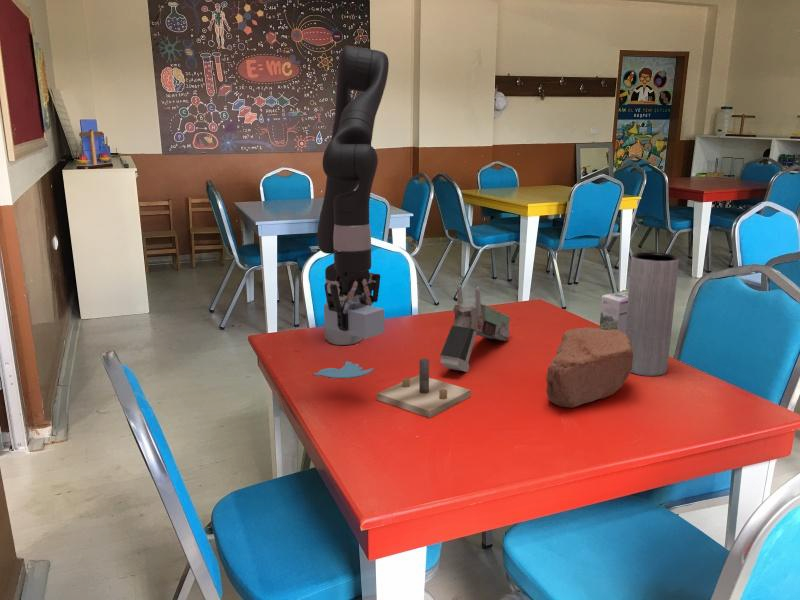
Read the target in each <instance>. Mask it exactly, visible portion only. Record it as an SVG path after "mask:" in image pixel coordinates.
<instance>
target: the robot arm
mask: <svg viewBox="0 0 800 600" xmlns="http://www.w3.org/2000/svg"><path fill="white" fill-rule="evenodd" d="M388 75H389V57H388V54H386V53H385V52H383V51H380V50H377V49H371V48H366V47H361V46H356V45H344V47H342V49H341V51H340V54H339V58H338V66H337V77H336V78H337V79H336V95H335V108H334V118H333V125H332V126H333V127H332V132H331V139H330V141H329V143H328V144H327V146H326V148H325V150H324V153H323V156H322V162H321V163H322V169H323V172H324V174H325V175H326V183H325V191H324V196H323V201H322V205H321V211H320V214H319V218H318V219H319V221H318V226H317V233H316V235H317V237H316V239H317V245H318V248H319V250H320V251H321V252H322V253H323V254H327V255H329V254H330V255H332V254H333V263H330V264H329V265H328V266H327V267H326V268H325V269H324V270H325V271H324V276H325V277H324V278H325V283H324V292H325V302H326V303H325V304H328V308H329V310H330V311H334V312H337V324H338V328H339V329H340V330H342V331H348V313H347V312H348V308H349V304H350V303H351V302H356V303H361V304H365V305H369V306H373V304H374V303H377V302H378V300H379V292H380V284H381V274H380V273H373V272H370V269H372V233H371V227H370V226H371V225H370V201H371V200H370V198H371V193H372V187H373V184H374V183H373V182H374V179H375V176H376V172H377V168H378V165H379V164H378V162H379V160H378V159H379V158H378V153H377V151H376V150H375V148H374V147H373V146H372V145H371V144H372V141H373V134H374V125H375V119H376V116H377V114H378V110H379V107H380V105H381V102H382V99H383V95H384V91H385V88H386V85H387V80H388ZM351 91H356V92H362V93H361V94H360V95H357V96H356V97H354V98H353V99H352V96H351ZM343 302H344V304H343ZM342 304H343V307H342ZM323 324H324V326H323V327H324V340H327V342H328V343H330V344H333V345H336V346H337V345H339V346H347V345H350V346H351V345H354V344H358V343H360V342H361V341H362V339H363V338H360V337H357V336H353V335H350V334H346V333H343V332H339V331H336V330H332V329H329V328H325V313H324V312H323Z"/></svg>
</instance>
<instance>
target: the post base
mask: <svg viewBox="0 0 800 600" xmlns="http://www.w3.org/2000/svg"><path fill="white" fill-rule="evenodd" d="M418 370H419V372H418V373H419V374H418V375H416V376H413V377H411V378H408V377H404V378H403V377H402V380H401V382H400V383H397V384H395V385H392V386H390V387H388V388H386V389H384V390H381V391H379V392H377V394H376V400H377V401H380V402H382V403H386V404H388V405H391V406H394V407H397V408H398V409H399V408H400V409H403V410H405V411H409V412H411V413H413V414H417V415H420V416H423V417H425V418H428V419H431V418H432V417H436V416H437V415H438V414H441V413H442V412H445V411H447V410H448V409H450V408H451V407H453V406H456V405H457V404H460V403H461V402H463V401H465V400H467V399H469V398H470V397H471V394H472V393H471V391H472V390H471V389H469V388H466V387H461V386H458V385H455V384H452V383H448V382H446V381H441V380H439V379H436V378H431V377H430V359H429V358H421V359H419V368H418Z"/></svg>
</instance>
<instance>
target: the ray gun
mask: <svg viewBox="0 0 800 600" xmlns="http://www.w3.org/2000/svg"><path fill="white" fill-rule="evenodd" d="M462 286H463V285H462V284H460V285H458V287H457V289H456V290H457V292H456V293H457V297H456V299H457V304H454V307H453V308H452V309H453V313H454V320H453V325H451V326H450V329H449V331H448V335H447V337H446V340H445V342H444V344H443V347H442V349H441V353H440V354H439V355H440V357H441V358H440V362H439V363H440V364H442V366H444V367H445V368H447V369H450V370H454V371H460V372H465V373H466V372H467V373H468V372H469V370H470V367H471V366H470V364H469V361H470V358H471V354H472V351H473V347H474V343H475V340H476V337H477V336H479V337H482V338H483V339H484V338H485V339H488V340H489V339H490V340H496V341H502V342H507V340H508V339H509V337H510V330H509V328H510V320H511V316H509V315H507V314H505V313H503V312H501V311H499V310H496V309H494V308H492V307H490V306H488V305H486V304H482V303H481V289H480V286H477V287H475V302H464V301H463V287H462Z"/></svg>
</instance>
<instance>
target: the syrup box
mask: <svg viewBox="0 0 800 600" xmlns="http://www.w3.org/2000/svg"><path fill="white" fill-rule="evenodd" d="M627 304H628V295H625V294H621V293H617V292H612V293H610V292H609V293H606V294H603V295H601V302H600V315H599V317H600V318H599V327H598V328H599V329H603V330H610V329H616V330H620V331H621V332H623V333H625V327H626V315H627Z"/></svg>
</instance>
